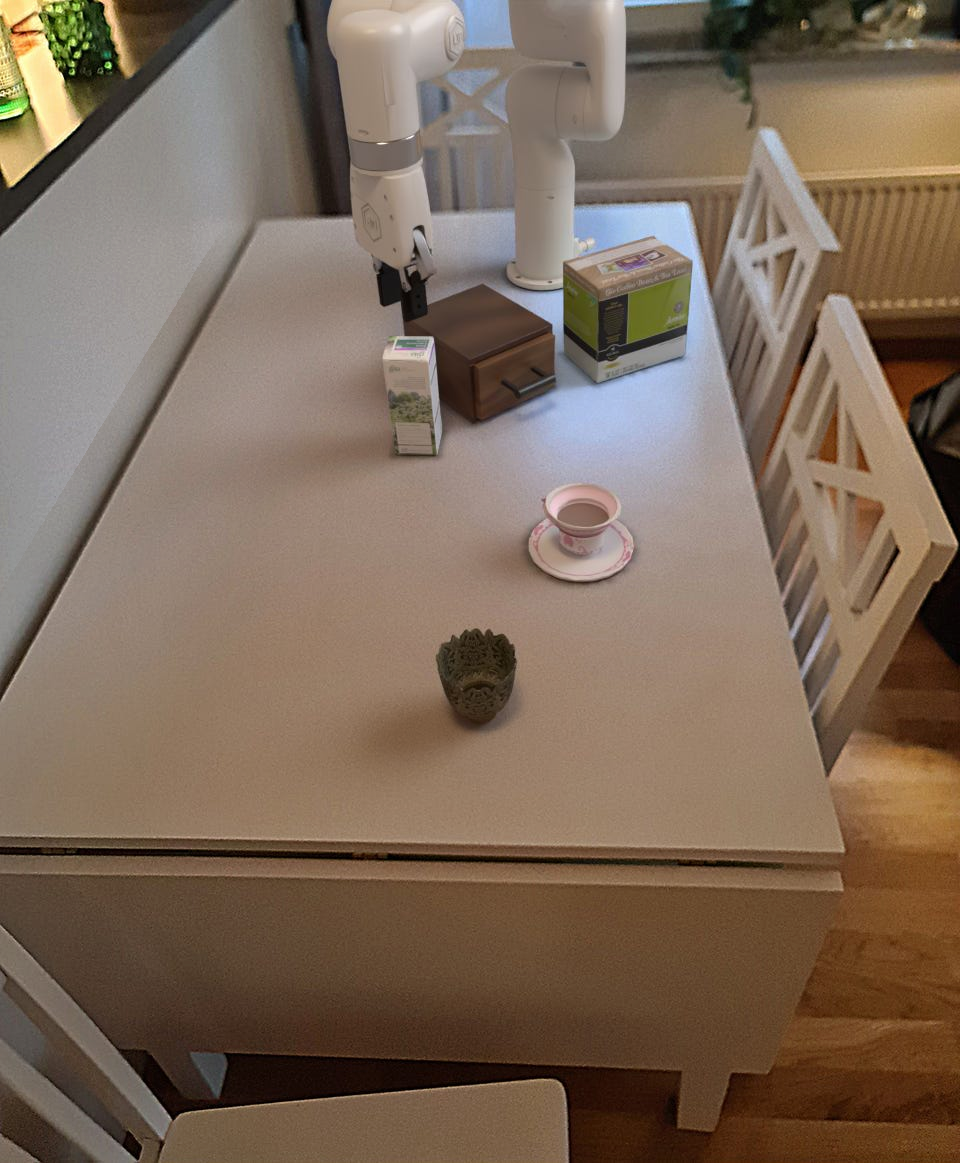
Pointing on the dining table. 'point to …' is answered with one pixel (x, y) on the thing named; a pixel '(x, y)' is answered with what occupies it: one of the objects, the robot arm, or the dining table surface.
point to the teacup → (581, 534)
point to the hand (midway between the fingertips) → (403, 308)
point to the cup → (477, 673)
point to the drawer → (514, 375)
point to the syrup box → (413, 394)
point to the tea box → (626, 307)
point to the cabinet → (472, 338)
